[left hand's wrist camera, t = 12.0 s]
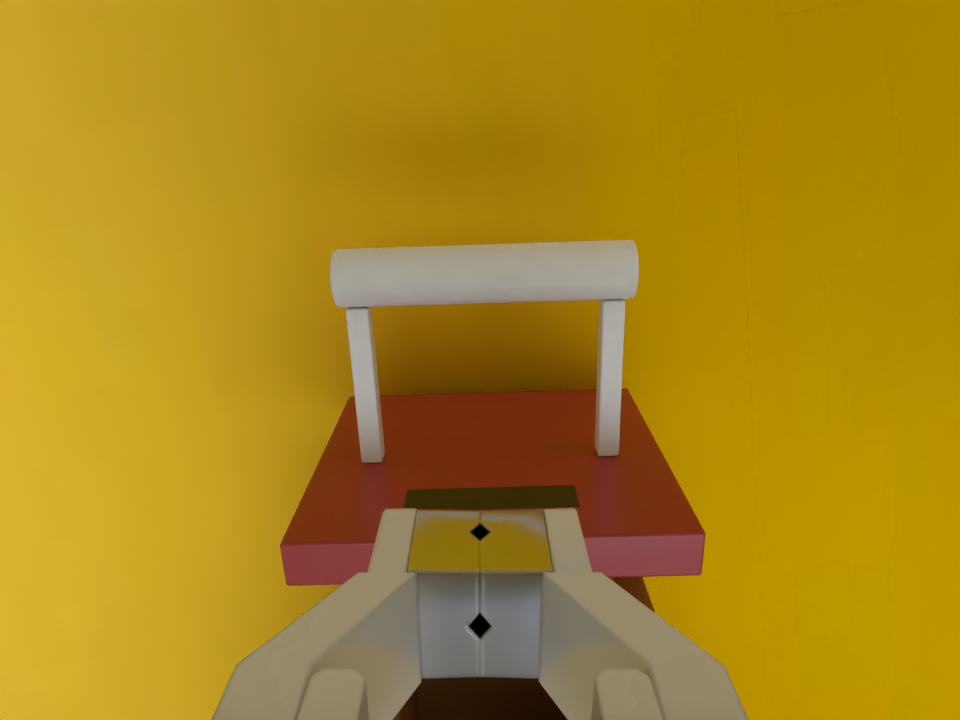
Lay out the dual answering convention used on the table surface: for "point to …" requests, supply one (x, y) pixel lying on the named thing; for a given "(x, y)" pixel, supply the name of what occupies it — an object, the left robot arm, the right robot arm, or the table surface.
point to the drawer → (492, 443)
